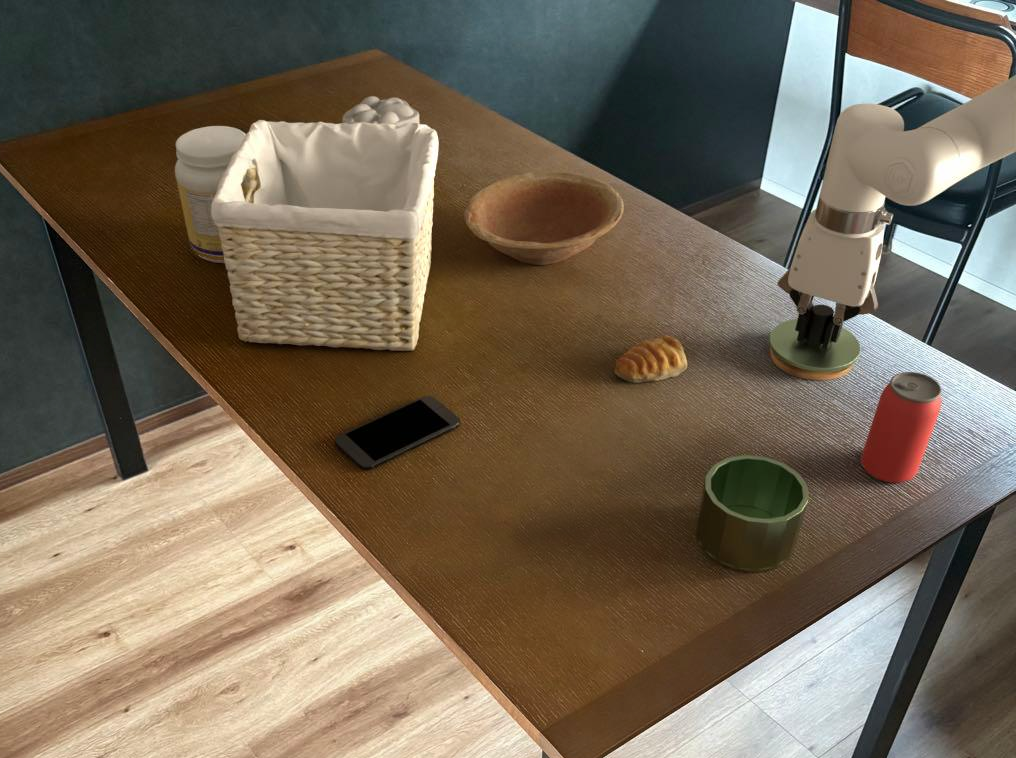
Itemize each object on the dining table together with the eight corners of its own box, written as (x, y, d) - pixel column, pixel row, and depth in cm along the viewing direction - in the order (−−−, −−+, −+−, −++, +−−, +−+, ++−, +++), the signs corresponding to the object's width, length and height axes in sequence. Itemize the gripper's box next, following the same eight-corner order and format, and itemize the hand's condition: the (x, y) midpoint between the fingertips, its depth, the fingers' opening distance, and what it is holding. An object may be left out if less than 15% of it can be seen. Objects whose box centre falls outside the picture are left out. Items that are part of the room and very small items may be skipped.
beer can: (862, 445, 132) (887, 364, 124) (918, 456, 130) (948, 375, 122) (857, 478, 128) (883, 396, 119) (915, 490, 126) (945, 408, 118)
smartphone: (464, 425, 135) (464, 419, 134) (364, 474, 128) (364, 468, 128) (429, 397, 139) (429, 392, 139) (331, 443, 133) (330, 437, 132)
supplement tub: (212, 222, 173) (192, 118, 161) (282, 232, 171) (267, 127, 159) (176, 260, 165) (153, 153, 153) (250, 271, 162) (232, 163, 151)
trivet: (863, 348, 147) (865, 343, 146) (837, 389, 140) (839, 384, 140) (786, 325, 151) (787, 320, 151) (757, 364, 144) (758, 359, 144)
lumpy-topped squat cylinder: (426, 157, 190) (424, 108, 184) (358, 173, 186) (354, 123, 180) (402, 135, 197) (399, 87, 191) (335, 149, 192) (330, 101, 186)
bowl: (496, 203, 177) (497, 157, 172) (636, 229, 171) (641, 181, 166) (441, 273, 162) (439, 224, 156) (593, 303, 155) (597, 253, 150)
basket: (445, 258, 165) (441, 117, 150) (428, 359, 146) (422, 209, 130) (270, 253, 166) (249, 113, 151) (231, 352, 147) (202, 203, 132)
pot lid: (869, 341, 146) (881, 302, 142) (841, 385, 139) (853, 345, 135) (786, 316, 151) (795, 277, 146) (755, 358, 144) (763, 318, 139)
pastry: (632, 394, 140) (635, 369, 137) (602, 368, 144) (605, 344, 141) (690, 373, 143) (694, 348, 140) (660, 348, 147) (663, 324, 145)
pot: (807, 527, 122) (822, 476, 116) (773, 586, 115) (787, 535, 110) (718, 493, 126) (728, 443, 121) (680, 549, 119) (689, 498, 114)
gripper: (923, 216, 130) (884, 344, 143) (794, 184, 136) (767, 310, 149) (906, 242, 126) (867, 373, 139) (772, 208, 132) (747, 336, 145)
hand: (815, 339), depth 144 cm, fingers closed on pot lid, 2 cm apart
